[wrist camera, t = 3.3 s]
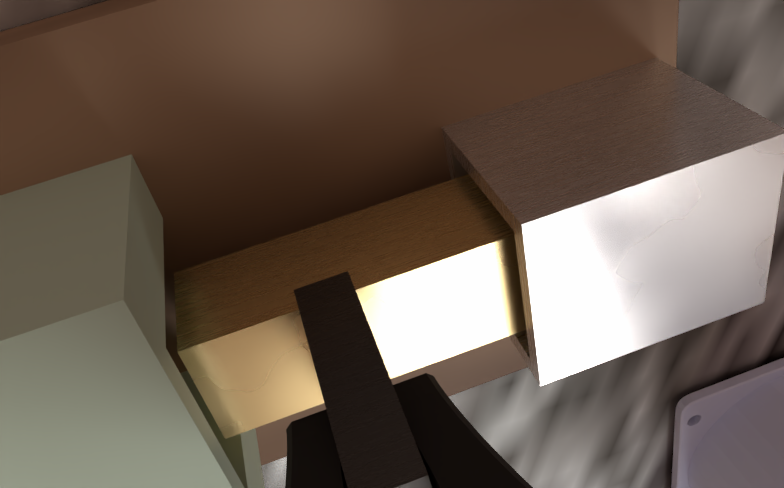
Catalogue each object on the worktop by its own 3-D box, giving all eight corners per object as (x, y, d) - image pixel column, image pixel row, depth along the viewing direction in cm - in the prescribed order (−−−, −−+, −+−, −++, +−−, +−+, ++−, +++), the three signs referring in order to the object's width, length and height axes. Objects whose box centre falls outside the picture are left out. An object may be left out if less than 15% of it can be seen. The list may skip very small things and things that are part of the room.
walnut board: (646, 294, 21) (666, 315, 20) (152, 475, 19) (152, 505, 18) (654, -158, 14) (685, -155, 13) (-125, 68, 12) (-146, 88, 11)
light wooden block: (552, 248, 16) (747, 478, 11) (220, 365, 16) (256, 676, 10) (543, 136, 15) (769, 345, 9) (167, 261, 14) (177, 571, 8)
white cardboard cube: (653, 206, 18) (763, 302, 14) (468, 272, 17) (540, 386, 14) (656, 57, 15) (789, 131, 12) (441, 127, 15) (521, 224, 12)
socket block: (250, 397, 17) (276, 564, 14) (111, 447, 17) (99, 632, 13) (131, 154, 13) (123, 299, 10) (-56, 213, 13) (-140, 388, 9)
